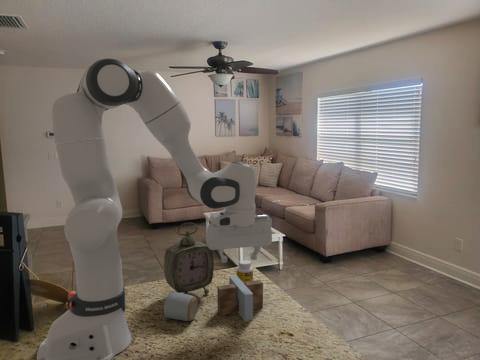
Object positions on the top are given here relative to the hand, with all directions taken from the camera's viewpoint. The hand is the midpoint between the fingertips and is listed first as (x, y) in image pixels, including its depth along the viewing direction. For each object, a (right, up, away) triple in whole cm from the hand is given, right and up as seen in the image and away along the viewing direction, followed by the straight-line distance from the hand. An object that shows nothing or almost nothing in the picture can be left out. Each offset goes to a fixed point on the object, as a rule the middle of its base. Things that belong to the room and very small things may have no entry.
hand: (238, 261), depth 115 cm
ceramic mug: (-17, -16, -2) cm, 23 cm away
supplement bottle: (+2, -14, +16) cm, 21 cm away
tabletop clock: (-17, -14, +12) cm, 25 cm away
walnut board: (0, -15, +3) cm, 16 cm away
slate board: (+1, -15, +2) cm, 16 cm away
